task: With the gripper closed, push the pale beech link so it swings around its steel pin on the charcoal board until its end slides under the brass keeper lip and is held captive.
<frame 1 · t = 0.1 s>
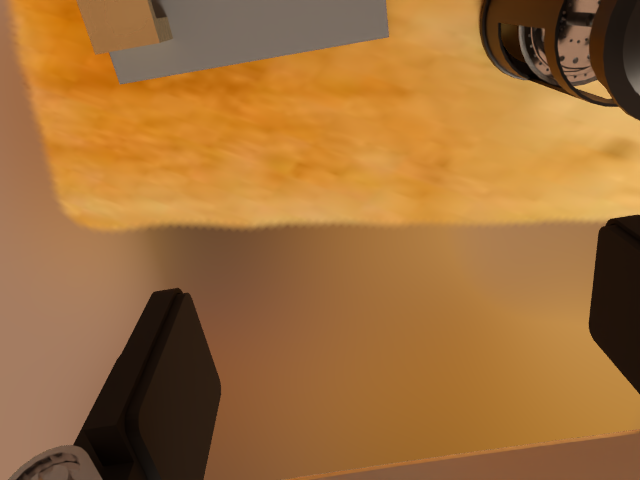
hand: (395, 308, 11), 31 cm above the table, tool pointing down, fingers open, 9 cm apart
french press: (541, 8, 37), on the table
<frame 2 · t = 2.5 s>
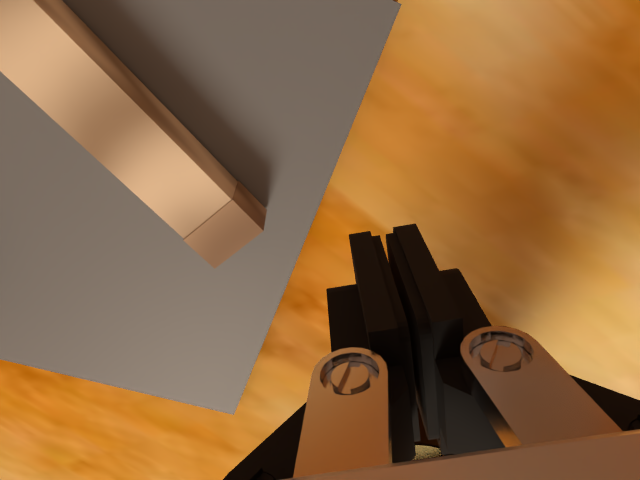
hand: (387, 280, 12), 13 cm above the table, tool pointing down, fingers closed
charcoal board: (101, 181, 24), on the table
beech link: (87, 89, 20), point 2 cm above the table, hinge at 60.0°
french press: (401, 440, 34), on the table
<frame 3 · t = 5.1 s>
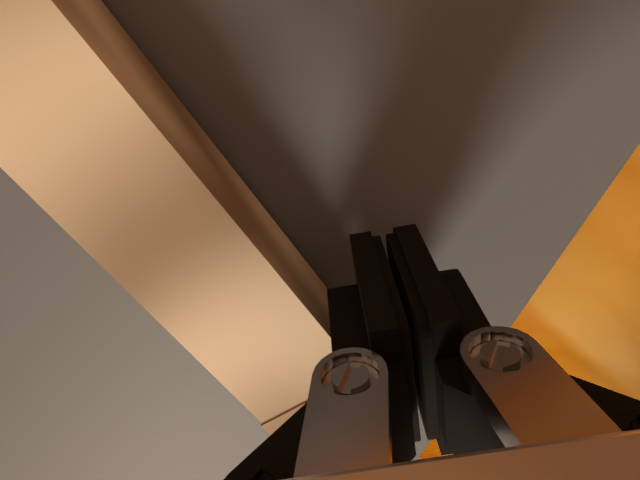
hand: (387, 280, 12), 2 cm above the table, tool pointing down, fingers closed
charcoal board: (147, 285, 15), on the table
beech link: (126, 163, 10), point 2 cm above the table, hinge at 55.3°, touching gripper
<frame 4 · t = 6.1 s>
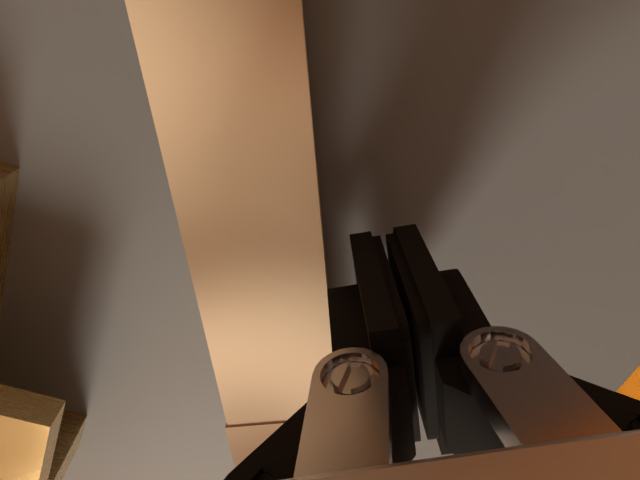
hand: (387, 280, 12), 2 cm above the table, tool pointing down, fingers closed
charcoal board: (339, 242, 14), on the table
beech link: (247, 153, 11), point 2 cm above the table, hinge at 26.8°, touching gripper
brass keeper: (84, 319, 15), resting on charcoal board
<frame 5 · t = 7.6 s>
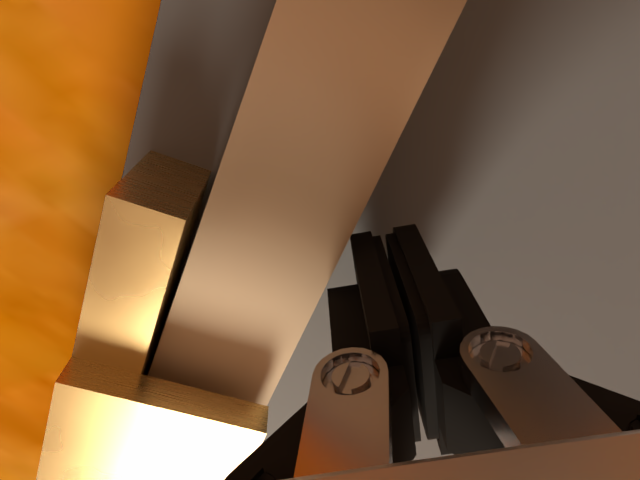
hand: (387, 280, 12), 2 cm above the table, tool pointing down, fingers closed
charcoal board: (502, 242, 14), on the table
beech link: (311, 129, 10), point 2 cm above the table, hinge at -1.6°, touching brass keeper, gripper
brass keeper: (235, 325, 15), resting on charcoal board
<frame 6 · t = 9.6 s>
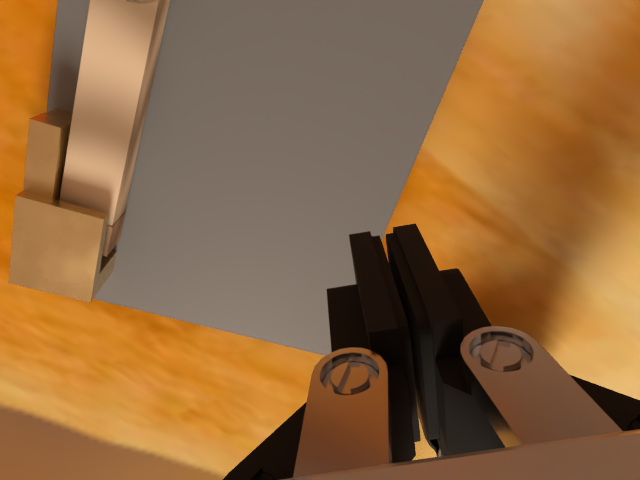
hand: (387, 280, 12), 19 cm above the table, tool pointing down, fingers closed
charcoal board: (235, 149, 29), on the table
beech link: (114, 93, 26), point 2 cm above the table, hinge at -1.6°, touching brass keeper
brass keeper: (113, 199, 30), resting on charcoal board
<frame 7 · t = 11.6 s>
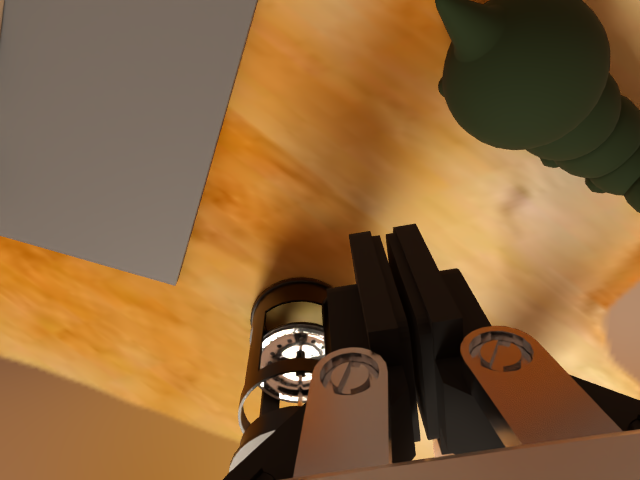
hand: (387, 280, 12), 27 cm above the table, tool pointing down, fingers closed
charcoal board: (78, 105, 36), on the table
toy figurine: (534, 98, 37), on the table
french press: (303, 314, 46), on the table
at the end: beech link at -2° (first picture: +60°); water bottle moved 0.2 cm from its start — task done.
